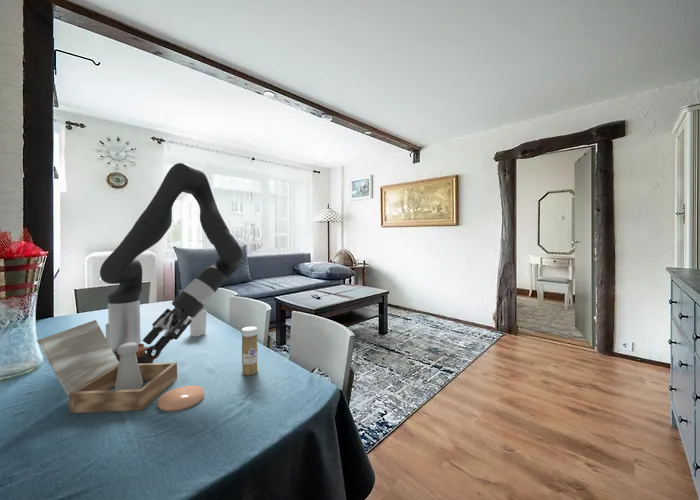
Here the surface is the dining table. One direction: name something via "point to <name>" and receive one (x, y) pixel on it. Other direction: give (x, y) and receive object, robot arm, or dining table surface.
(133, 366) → the salt shaker
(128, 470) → the dining table surface
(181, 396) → the terracotta saucer
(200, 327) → the drinking glass
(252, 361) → the sprinkles bottle
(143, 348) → the pottery mug
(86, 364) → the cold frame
